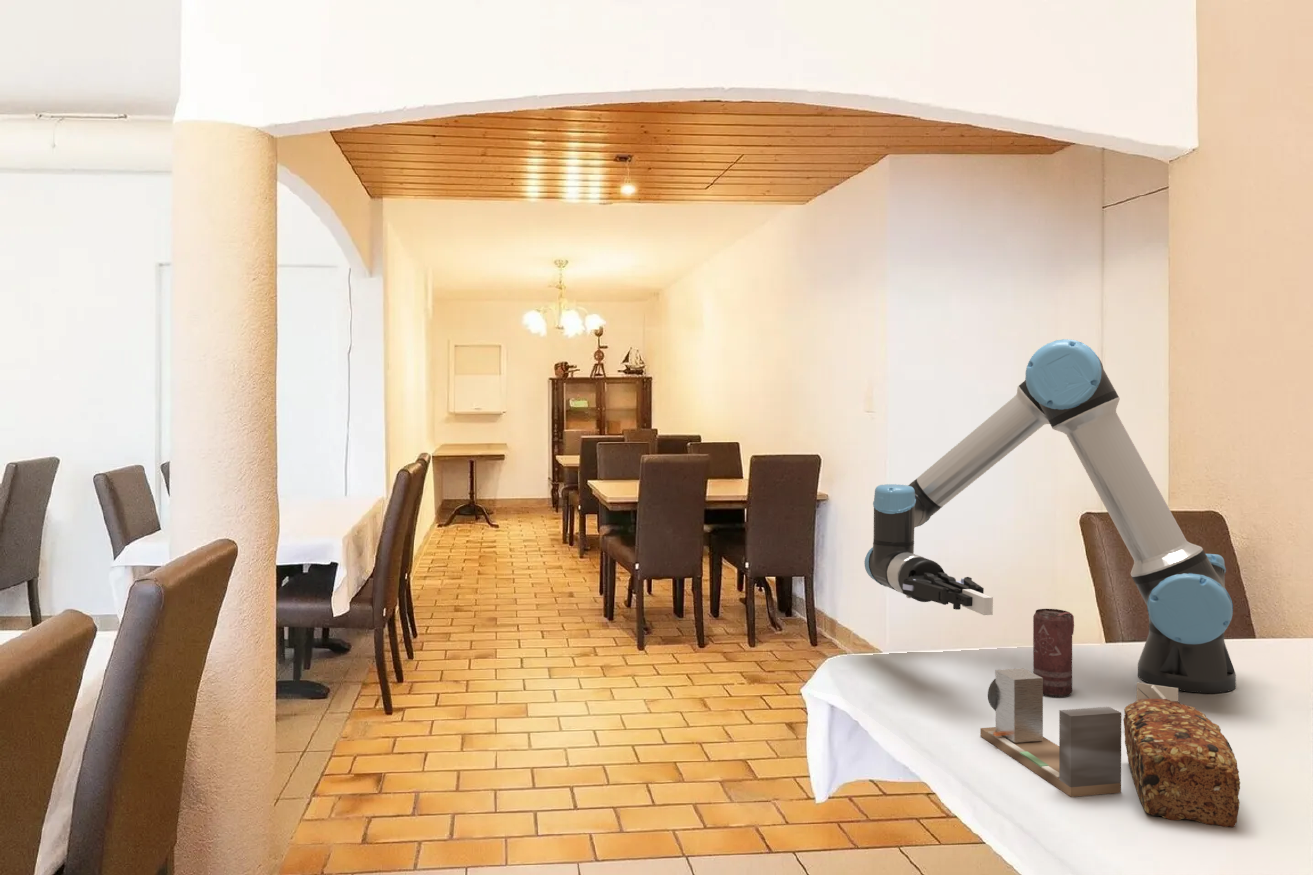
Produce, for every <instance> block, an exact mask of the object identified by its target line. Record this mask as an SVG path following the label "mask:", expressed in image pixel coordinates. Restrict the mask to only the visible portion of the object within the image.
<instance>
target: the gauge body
mask: <svg viewBox="0 0 1313 875" xmlns="http://www.w3.org/2000/svg"><path fill="white" fill-rule="evenodd" d="M1058 711H1059V712H1058V713H1059V718H1058V719H1059V720H1058V721H1059V723H1058V724H1059V725H1058V726H1059V727H1058V729H1059V730H1058V731H1059V733H1058V734H1059V741H1058V742H1059V745H1058V744H1056V743H1055V742H1053V741H1051V740H1049V739H1048V738H1046V737H1044V736H1043V741H1032V742H1018V743H1014V742H1012V741H1011V740H1009V739H1008V738H1006V737H1005V736H995V735H993V732H997V731H996V726H992V727H980V732H979V733H980V734H979V735H980V737H982V739H984V740H986V741H987V742H988V743H990V744H992V745H993V746H994V747H996V748H998V749H999V750H1000V751H1002V752H1004V753H1005V754H1007V756H1009V757H1011V758H1012V759H1013V760H1015V761H1017V762H1018V763H1020V764H1021V765H1023V767H1025V768H1027V769H1029V770H1030V771H1032V772H1033V773H1035V774H1036V775H1038V777H1040V778H1042V779H1044V780H1045V781H1046V782H1047V783H1049V784H1051V785H1052V786H1054V787H1055V788H1057V789H1058V790H1060V791H1061V792H1062V793H1064V794H1066V795H1067V796H1069V797H1070V798H1076V797H1084V796H1085V797H1086V796H1095V795H1107V794H1118V793H1122V712H1121V711H1120V710H1117V709H1115V708H1112V707H1111V706H1102V707H1101V706H1100V707H1085V708H1083V707H1082V708H1072V709H1071V708H1070V709H1069V708H1068V709H1060V710H1058Z"/></svg>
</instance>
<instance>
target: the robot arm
mask: <svg viewBox="0 0 1313 875" xmlns="http://www.w3.org/2000/svg"><path fill="white" fill-rule="evenodd" d="M1119 402H1120V397H1119V395H1118V393H1117V391H1116V389H1115V387H1114V385H1113V383H1112V382H1111V380H1110V378H1109V377H1108V374H1107V373H1106V371H1105V369H1104V365H1103V363H1102V361H1101V359H1100V357H1099V356H1098V355H1097V354H1096V352H1095V351H1094V350H1093V349H1092V348H1091V347H1089V345H1087V344H1085V343H1083V342H1082V341H1081V342H1080V341H1078V340H1075V339H1068V338H1067V339H1065V338H1063V339H1056V340H1054V341H1050V342H1048V343H1046V344H1044V345H1043V346H1041V347H1039V348H1038V349H1037V350H1036V351H1035V352H1034V354H1032V355H1031V357H1030V358H1029V361H1028V363H1027V365H1026V369H1025V380H1024V381H1023V382H1021V383H1020V384H1019V385H1018V386H1017V390H1016V394H1015V395H1014V396H1013V397H1012V398H1011V399H1009V401H1007V402H1006V403H1005V404H1003V405H1002V406H1001V407H1000V408H999V409H997V410H996V411H995V412H994V413H993V414H992V415H991V416H990V417H988V418H987V419H986V420H984V421H983V422H982V423H981V424H980V425H978V426H977V427H976V428H975V429H974V430H973V431H971V432H969V434H968V435H967V436H965V437H964V438H963V439H962V440H961V441H959V442H958V443H957V444H956V445H954V447H953V448H951V449H950V450H949V451H948V452H946V453H945V454H944V455H943V456H942V457H940V458H939V459H938V460H937V461H936V462H934V463H933V464H932V465H931V466H930V467H928V468H927V469H926V470H925V471H924V472H923V473H921V474H920V475H919V476H918V477H917V478H916V479H915V480H913V481H912V482H910V483H909V484H907V485H906V484H896V483H895V484H890V483H889V484H888V483H887V484H879V485H877V486H876V487H875V489H874V495H873V496H874V498H873V502H872V505H873V541H872V547H871V548H870V549H869V550H868V552H867V553H866V556H865V558H864V568H865V572H866V573H867V575H868V576H869V577H870V578H871V580H874V581H875V582H876V583H878V584H879V585H881V586H883V587H886V588H889V589H892V590H893V591H894V590H895V591H896V592H898V593H900V594H903V595H904V596H906V598H907V599H913V600H915V601H917V602H921V603H929V602H934V603H938V604H941V605H945V606H946V605H949V603H950V604H952V605H953V606H952V608H953V610H956V611H957V610H961V608H962V607H964V608H966V609H969V610H970V611H973V612H975V613H978V614H980V615H982V616H993V611H994V610H993V609H994V608H993V606H994V605H993V604H994V596H993V597H992V596H990V595H987V594H985V593H984V592H985V591H984V590H985V589H984V587H983V586H981V585H980V584H978V583H976V582H975V581H974V580H972V579H973V578H972V577H970V576H966V577H964V578H960V580H956V577H953V576H951V575H950V576H949V575H948V573H946V572H945V571H944V569H943V567H942V566H941V565H940V564H939V563H938V562H936V561H934V560H931V559H929V558H925V557H924V556H921V555H918V554H916V553H914V552H915V528H918V527H921V526H923V525H924V524H925V523H926V522H928V521H929V520H930V519H931V517H932V516H933V515H935V514H936V513H937V512H939V511H940V509H942V508H943V507H944V506H945V505H947V504H948V503H950V501H952V500H953V499H954V498H955V497H957V496H958V495H959V494H960V493H961V492H963V491H964V490H966V488H968V487H969V486H971V484H973V483H974V482H975V481H977V479H979V478H980V477H981V476H982V475H984V474H986V472H987V471H989V470H990V469H992V468H993V467H994V466H995V465H996V464H997V463H998V462H1000V461H1001V460H1003V459H1004V458H1005V457H1006V456H1007V455H1008V454H1010V453H1011V452H1012V451H1014V449H1016V448H1017V447H1019V445H1021V444H1022V443H1024V442H1025V441H1026V440H1027V439H1028V438H1030V437H1031V436H1032V435H1033V434H1035V433H1036V432H1037V431H1039V429H1041V428H1042V427H1043V426H1045V425H1050V426H1051V428H1052V430H1054V431H1058V432H1060V433H1063V434H1065V435H1066V437H1067V438H1068V441H1069V443H1070V444H1071V446H1072V447H1073V450H1074V451H1075V453H1076V455H1077V457H1078V459H1079V461H1080V463H1081V464H1082V467H1083V468H1084V470H1085V472H1086V474H1087V475H1088V477H1089V480H1090V481H1091V483H1092V486H1093V488H1094V489H1095V490H1096V492H1097V494H1098V496H1099V497H1100V500H1101V502H1102V503H1103V505H1104V508H1105V509H1106V511H1107V513H1108V515H1109V517H1110V518H1111V521H1112V522H1113V524H1114V527H1115V528H1116V530H1117V532H1118V534H1119V536H1120V537H1121V539H1122V541H1123V543H1124V545H1125V547H1126V548H1127V550H1128V552H1129V554H1130V556H1131V557H1132V560H1133V565H1132V568H1131V571H1130V576H1131V578H1132V581H1133V582H1134V584H1135V586H1136V588H1137V590H1138V591H1139V594H1140V595H1141V598H1142V599H1143V601H1144V603H1145V605H1146V607H1147V612H1148V636H1147V637H1146V640H1145V644H1144V647H1143V649H1142V652H1141V654H1140V656H1139V660H1138V662H1137V676H1138V678H1139V679H1141V680H1142V681H1144V682H1146V683H1147V684H1151V685H1159V686H1166V687H1173V688H1178V691H1181V692H1190V693H1200V694H1203V693H1204V694H1207V693H1208V694H1212V693H1213V694H1215V693H1216V694H1218V693H1225V692H1230V691H1233V690H1234V689H1236V686H1237V684H1236V683H1237V682H1236V681H1237V675H1236V671H1235V668H1234V665H1233V663H1232V659H1231V656H1230V653H1229V650H1228V649H1227V645H1226V642H1225V631H1226V630H1227V629H1228V628H1229V625H1230V624H1231V622H1232V619H1233V615H1234V613H1233V612H1234V609H1233V608H1234V604H1233V601H1232V598H1231V596H1230V593H1229V592H1228V591H1227V589H1226V585H1225V584H1226V582H1225V581H1226V578H1225V576H1226V575H1225V574H1226V573H1227V568H1226V565H1225V563H1226V562H1225V559H1224V557H1223V556H1222V555H1220V554H1217V553H1216V554H1215V553H1206V552H1205V550H1204V548H1203V546H1200V545H1198V544H1195V543H1191V542H1189V541H1188V540H1187V539H1186V537H1185V535H1184V533H1183V530H1181V528H1180V526H1179V524H1178V523H1177V521H1176V520H1177V519H1176V518H1175V517H1174V515H1173V513H1172V511H1171V509H1170V508H1169V506H1168V504H1167V502H1166V500H1165V499H1164V497H1163V495H1162V493H1161V492H1160V489H1159V488H1158V486H1157V484H1156V483H1155V481H1154V479H1153V477H1152V475H1151V473H1150V471H1149V470H1148V468H1147V466H1146V464H1145V463H1144V460H1143V459H1142V457H1141V455H1140V453H1139V451H1138V449H1137V448H1136V446H1135V444H1134V442H1133V440H1132V439H1131V437H1130V435H1129V433H1128V431H1127V430H1126V427H1125V425H1124V424H1123V422H1122V421H1121V419H1120V417H1119V415H1118V413H1117V408H1118V405H1119ZM961 606H962V607H961Z"/></svg>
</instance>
